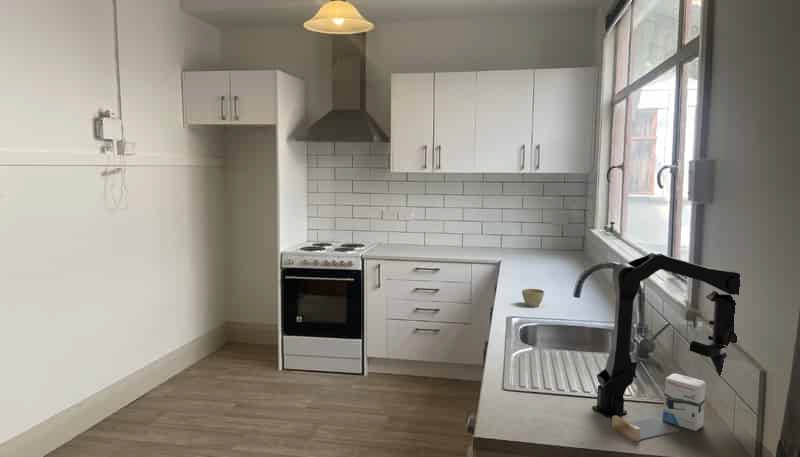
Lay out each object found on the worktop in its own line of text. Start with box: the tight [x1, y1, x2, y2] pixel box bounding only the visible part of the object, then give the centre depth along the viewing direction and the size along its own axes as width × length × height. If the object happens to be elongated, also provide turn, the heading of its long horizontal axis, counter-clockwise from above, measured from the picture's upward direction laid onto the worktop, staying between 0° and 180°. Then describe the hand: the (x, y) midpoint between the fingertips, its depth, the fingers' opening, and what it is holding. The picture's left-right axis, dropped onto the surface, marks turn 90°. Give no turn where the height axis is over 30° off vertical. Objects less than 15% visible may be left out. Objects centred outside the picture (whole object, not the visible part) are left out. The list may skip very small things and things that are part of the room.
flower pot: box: [521, 288, 545, 308], centre depth 276 cm, size 10×10×7 cm
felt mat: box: [629, 417, 680, 441], centre depth 149 cm, size 8×13×1 cm, turn 114°
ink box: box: [662, 373, 707, 432], centre depth 152 cm, size 8×5×12 cm, turn 45°
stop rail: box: [611, 415, 641, 442], centre depth 146 cm, size 8×1×3 cm, turn 23°
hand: (721, 376), depth 155 cm, fingers closed
